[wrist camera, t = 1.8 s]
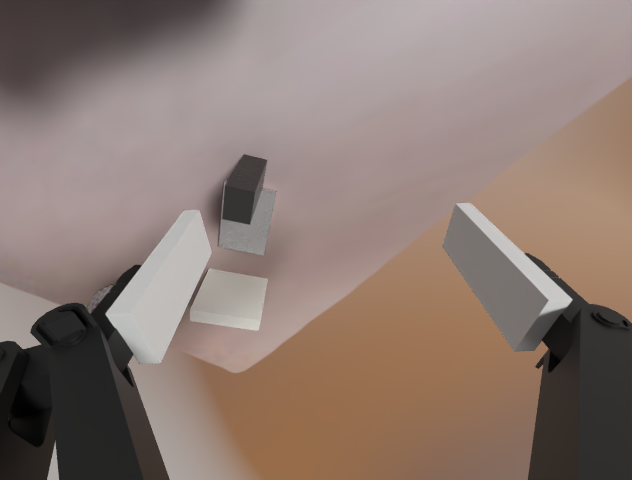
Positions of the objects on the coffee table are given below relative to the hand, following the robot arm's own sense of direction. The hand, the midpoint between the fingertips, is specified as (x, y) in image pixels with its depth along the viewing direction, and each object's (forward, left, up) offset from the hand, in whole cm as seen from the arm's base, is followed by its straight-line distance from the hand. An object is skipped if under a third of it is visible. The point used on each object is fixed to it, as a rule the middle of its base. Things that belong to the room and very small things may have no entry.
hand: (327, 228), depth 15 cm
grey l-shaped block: (-7, -13, -24) cm, 28 cm away
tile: (-7, -28, -24) cm, 37 cm away
